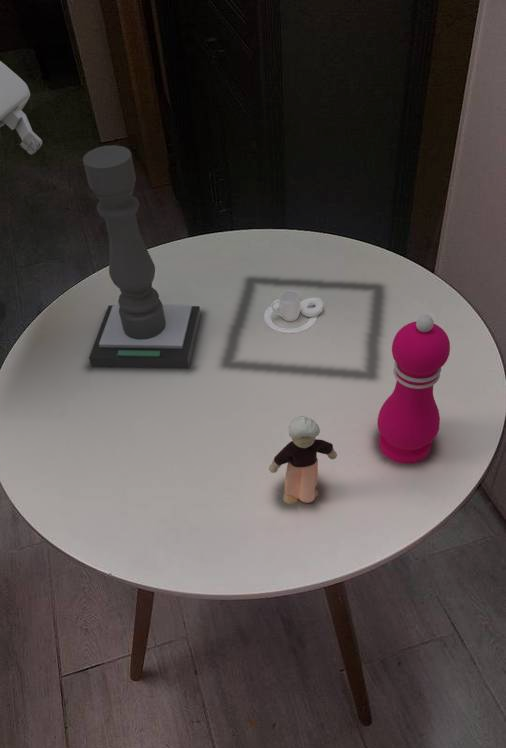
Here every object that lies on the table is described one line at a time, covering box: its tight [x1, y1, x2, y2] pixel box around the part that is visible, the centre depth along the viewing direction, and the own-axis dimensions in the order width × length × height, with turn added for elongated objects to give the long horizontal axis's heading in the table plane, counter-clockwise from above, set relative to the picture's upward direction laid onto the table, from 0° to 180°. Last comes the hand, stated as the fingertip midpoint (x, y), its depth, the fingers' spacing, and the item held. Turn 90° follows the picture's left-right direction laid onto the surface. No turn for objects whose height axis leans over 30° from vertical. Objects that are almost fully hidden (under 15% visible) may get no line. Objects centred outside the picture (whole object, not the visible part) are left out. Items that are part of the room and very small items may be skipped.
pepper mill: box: [376, 314, 451, 464], centre depth 77 cm, size 7×7×20 cm
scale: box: [88, 304, 202, 370], centre depth 99 cm, size 14×12×3 cm
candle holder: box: [82, 144, 166, 340], centre depth 89 cm, size 6×6×25 cm
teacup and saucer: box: [263, 289, 325, 334], centre depth 101 cm, size 9×8×4 cm
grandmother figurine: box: [268, 415, 338, 505], centre depth 76 cm, size 8×4×13 cm, turn 114°
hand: (16, 167), depth 80 cm, fingers open, 8 cm apart
